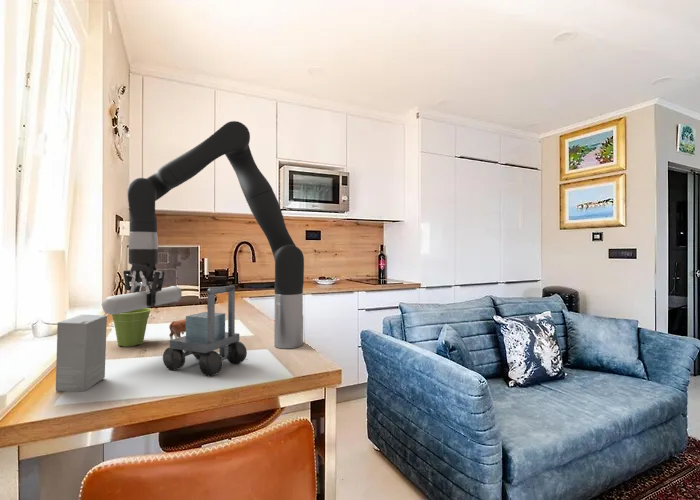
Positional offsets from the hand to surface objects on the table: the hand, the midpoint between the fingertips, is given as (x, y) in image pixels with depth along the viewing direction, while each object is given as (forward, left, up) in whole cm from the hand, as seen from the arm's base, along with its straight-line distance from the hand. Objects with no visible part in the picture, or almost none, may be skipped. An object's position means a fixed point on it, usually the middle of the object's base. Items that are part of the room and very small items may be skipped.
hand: (143, 305), depth 106 cm
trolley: (0, +23, -15) cm, 27 cm away
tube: (0, 0, -1) cm, 1 cm away
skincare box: (+21, +6, -15) cm, 27 cm away
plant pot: (-9, -16, -15) cm, 24 cm away
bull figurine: (-21, -4, -15) cm, 26 cm away
